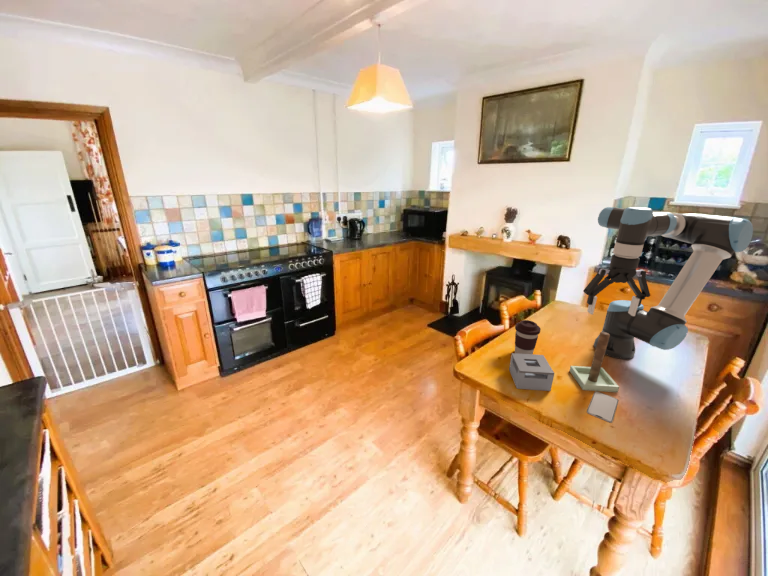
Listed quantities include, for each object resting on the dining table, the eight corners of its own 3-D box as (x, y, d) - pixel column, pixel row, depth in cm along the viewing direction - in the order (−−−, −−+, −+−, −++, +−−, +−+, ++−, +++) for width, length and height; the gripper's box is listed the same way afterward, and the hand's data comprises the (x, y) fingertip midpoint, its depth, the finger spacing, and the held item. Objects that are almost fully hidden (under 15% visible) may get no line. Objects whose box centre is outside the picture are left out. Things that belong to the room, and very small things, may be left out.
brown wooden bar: (594, 377, 125) (607, 332, 118) (598, 382, 122) (611, 336, 115) (586, 377, 125) (598, 331, 118) (590, 381, 123) (602, 335, 116)
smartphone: (619, 399, 114) (612, 422, 104) (618, 400, 114) (611, 424, 104) (595, 390, 119) (586, 411, 108) (594, 391, 119) (585, 413, 108)
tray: (601, 372, 129) (602, 367, 128) (617, 392, 118) (619, 386, 117) (569, 370, 130) (570, 365, 130) (582, 389, 119) (584, 384, 118)
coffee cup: (537, 361, 137) (543, 329, 132) (513, 358, 139) (518, 327, 133) (532, 349, 146) (538, 319, 141) (509, 346, 148) (514, 317, 143)
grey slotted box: (540, 371, 130) (543, 355, 127) (550, 390, 119) (554, 373, 116) (509, 369, 131) (511, 353, 129) (516, 388, 120) (519, 370, 117)
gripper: (659, 253, 108) (642, 310, 116) (580, 251, 111) (568, 307, 119) (675, 259, 102) (656, 320, 109) (591, 257, 104) (577, 316, 112)
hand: (610, 313), depth 114 cm, fingers open, 13 cm apart
